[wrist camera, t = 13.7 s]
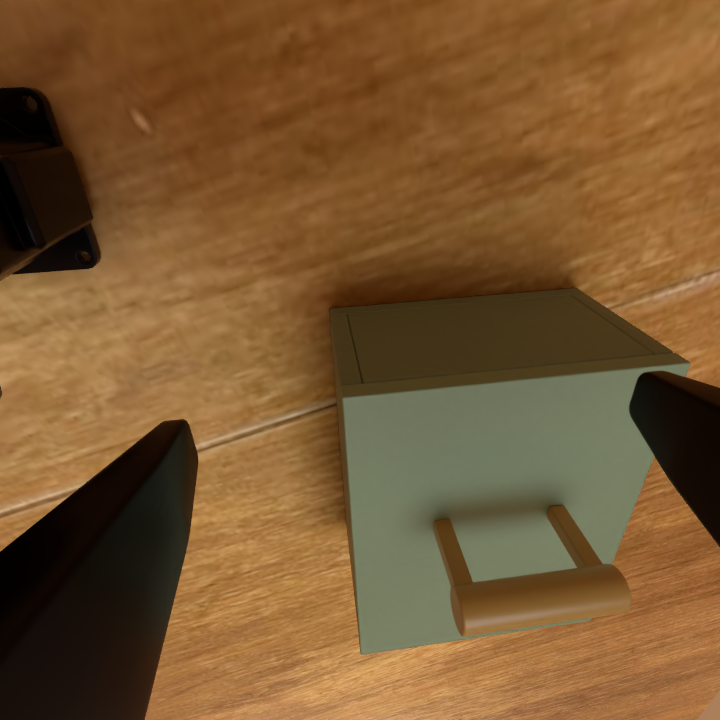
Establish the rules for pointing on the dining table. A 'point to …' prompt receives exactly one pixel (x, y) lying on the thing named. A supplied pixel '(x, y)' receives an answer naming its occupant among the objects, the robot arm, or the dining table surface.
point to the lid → (492, 498)
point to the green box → (473, 341)
